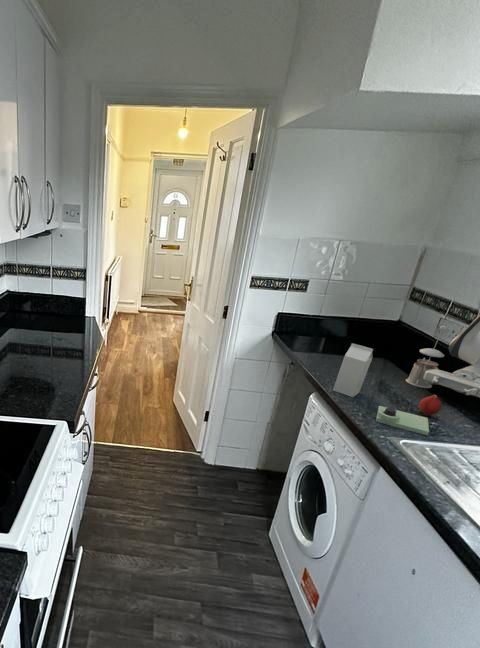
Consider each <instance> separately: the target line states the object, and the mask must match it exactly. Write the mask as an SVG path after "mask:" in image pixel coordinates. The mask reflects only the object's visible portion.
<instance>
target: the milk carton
mask: <svg viewBox="0 0 480 648" xmlns="http://www.w3.org/2000/svg"><path fill="white" fill-rule="evenodd" d="M373 351H374V348H371V347H367V346H364V345H360V344H357V343H351V344H350V347H349V348H348V350H347V352H346V353H345V355H344V357H343V360H342V362H341V365H340V368H339V371H338V374H337V376H336V380H335V383H334V385H333V389H332V391H334V392H336V393H339V394H342V395H345V396H347V397H348V396H349V397H351V398H354V397H355V396H356V395H358V394H359V393H360V392H361V390H362V386H363V384H364V381H365V379H366V376H367V373H368V371H369V369H370V365H371V363H372V361H373V356H374V355H373Z"/></svg>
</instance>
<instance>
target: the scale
mask: <svg viewBox="0 0 480 648" xmlns="http://www.w3.org/2000/svg"><path fill="white" fill-rule="evenodd" d="M386 408H387V406H382V405H378V407H377V411H376V418H375V422H378V423H380V424H384V425H387V426H390V427H394V428H398V429H402V430H406V431H408V432H412V433H417V434H419V435H424V436H428V435H429V433H430V428H429V427H430V426H429V418H428V417H427V416H426V417H425V416H422V415H417V414H413V413H411V412H405V411H402V410H398V409H395V410H396V414H395V416H389V415H386V414H384V412H385V409H386Z"/></svg>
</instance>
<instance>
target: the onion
mask: <svg viewBox="0 0 480 648" xmlns="http://www.w3.org/2000/svg"><path fill="white" fill-rule="evenodd" d="M441 409H442V402H441V401H440V399H439V398H438V396H437V394H433V395H430V396H427V397H424V398H422V399H421V400H420V402H419V410H420V411H421V412H422V413H423V415H424V416H426V417H428V416H432V415H435V414H438V413H439V412H440V411H441Z"/></svg>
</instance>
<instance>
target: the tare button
mask: <svg viewBox="0 0 480 648" xmlns="http://www.w3.org/2000/svg"><path fill="white" fill-rule="evenodd" d="M396 410H397V409H394V408H391V407H386V409H385V412H384V414H386V415H389V416H395V414H396Z"/></svg>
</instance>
